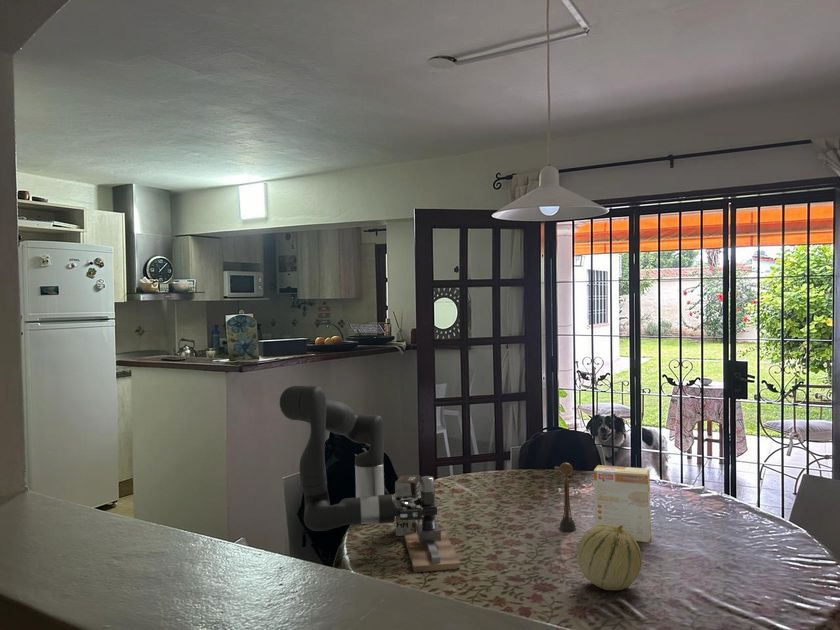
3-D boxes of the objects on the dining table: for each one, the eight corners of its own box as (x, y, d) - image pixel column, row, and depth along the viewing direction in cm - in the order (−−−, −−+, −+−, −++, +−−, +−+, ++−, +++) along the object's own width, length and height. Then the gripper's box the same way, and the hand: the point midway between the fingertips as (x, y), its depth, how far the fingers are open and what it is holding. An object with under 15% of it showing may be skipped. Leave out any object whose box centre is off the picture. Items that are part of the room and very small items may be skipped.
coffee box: (416, 537, 184) (415, 482, 184) (395, 536, 186) (393, 482, 186) (422, 526, 193) (421, 474, 193) (402, 525, 195) (401, 474, 195)
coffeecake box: (651, 535, 181) (650, 468, 181) (649, 543, 175) (647, 474, 175) (598, 528, 188) (597, 464, 188) (594, 536, 181) (593, 469, 181)
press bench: (404, 538, 183) (404, 528, 183) (444, 535, 185) (444, 525, 185) (414, 572, 160) (413, 560, 160) (460, 568, 161) (459, 557, 161)
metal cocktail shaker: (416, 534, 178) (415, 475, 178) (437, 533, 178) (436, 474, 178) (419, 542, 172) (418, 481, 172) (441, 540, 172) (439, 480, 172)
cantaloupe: (569, 576, 155) (568, 515, 155) (626, 572, 156) (625, 512, 156) (590, 603, 140) (589, 537, 140) (653, 599, 142) (652, 533, 141)
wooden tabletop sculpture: (554, 529, 188) (552, 463, 188) (558, 524, 192) (556, 459, 192) (573, 532, 185) (572, 465, 185) (577, 527, 189) (575, 461, 189)
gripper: (378, 503, 166) (438, 499, 168) (375, 488, 180) (430, 485, 182) (378, 531, 166) (439, 527, 168) (376, 514, 180) (431, 511, 182)
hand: (434, 505), depth 175 cm, fingers open, 8 cm apart
